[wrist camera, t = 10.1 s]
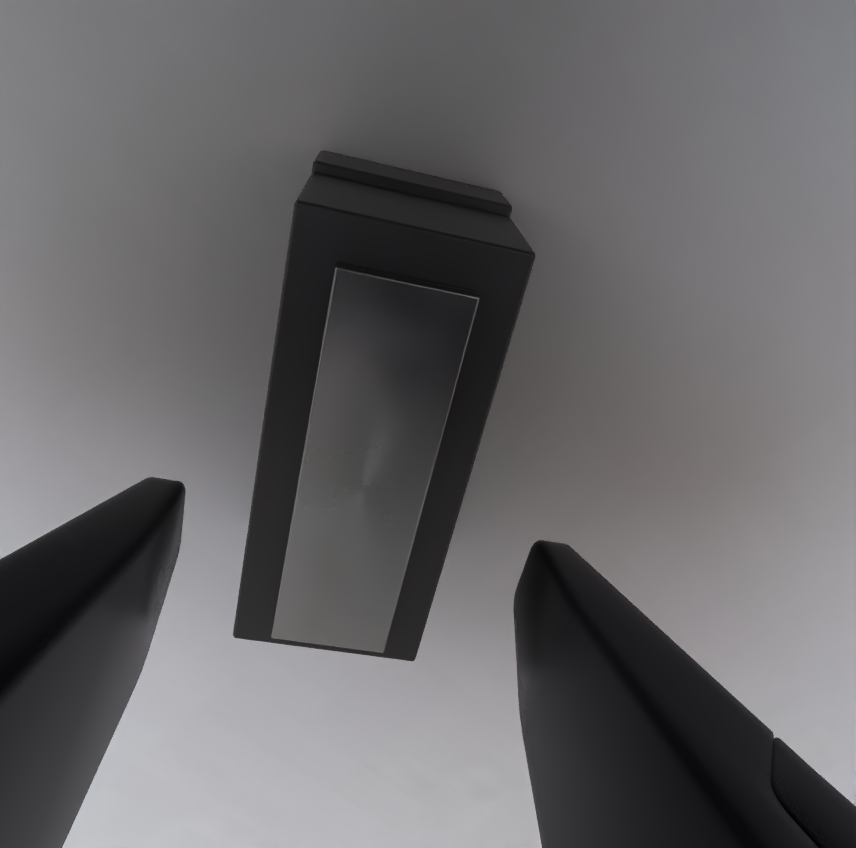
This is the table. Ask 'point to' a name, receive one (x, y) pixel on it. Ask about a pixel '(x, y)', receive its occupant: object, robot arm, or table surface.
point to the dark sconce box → (375, 402)
